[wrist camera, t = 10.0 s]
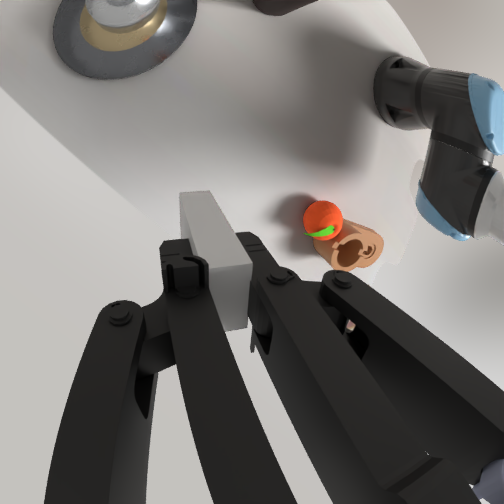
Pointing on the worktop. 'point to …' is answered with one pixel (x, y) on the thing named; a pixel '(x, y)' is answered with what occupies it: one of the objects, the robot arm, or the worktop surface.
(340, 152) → the worktop surface
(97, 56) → the grey plate
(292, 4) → the bottle
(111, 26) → the cover
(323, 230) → the clementine
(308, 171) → the worktop surface
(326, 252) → the bracket
